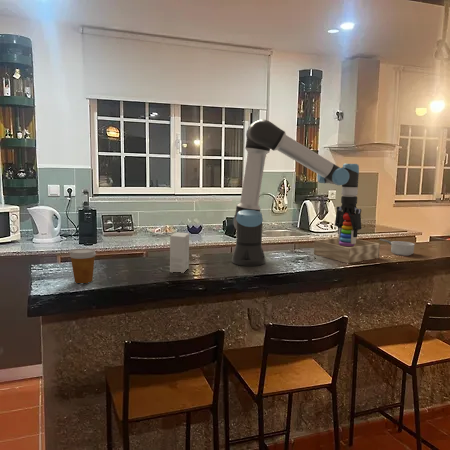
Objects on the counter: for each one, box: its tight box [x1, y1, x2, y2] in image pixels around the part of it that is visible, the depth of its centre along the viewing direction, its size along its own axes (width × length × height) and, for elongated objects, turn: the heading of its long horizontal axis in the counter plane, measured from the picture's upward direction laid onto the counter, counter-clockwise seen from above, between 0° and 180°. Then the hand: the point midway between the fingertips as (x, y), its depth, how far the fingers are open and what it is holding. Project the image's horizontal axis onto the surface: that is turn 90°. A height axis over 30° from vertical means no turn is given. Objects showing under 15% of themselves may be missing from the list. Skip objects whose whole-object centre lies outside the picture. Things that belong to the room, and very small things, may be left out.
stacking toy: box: [339, 213, 355, 248], centre depth 214 cm, size 8×8×19 cm
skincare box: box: [169, 231, 190, 274], centre depth 182 cm, size 8×7×16 cm
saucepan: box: [379, 238, 416, 257], centre depth 226 cm, size 12×20×6 cm, turn 30°
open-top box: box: [313, 237, 381, 264], centre depth 215 cm, size 22×22×7 cm
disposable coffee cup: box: [68, 247, 97, 284], centre depth 164 cm, size 10×10×12 cm
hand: (346, 242), depth 214 cm, fingers closed on stacking toy, 7 cm apart
